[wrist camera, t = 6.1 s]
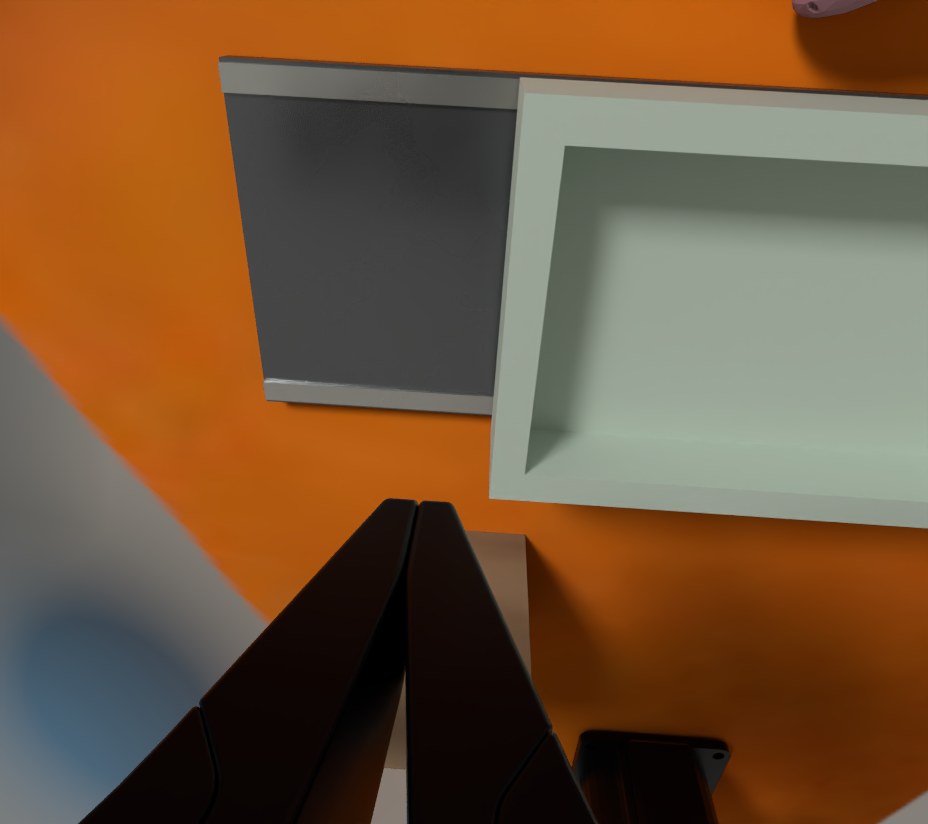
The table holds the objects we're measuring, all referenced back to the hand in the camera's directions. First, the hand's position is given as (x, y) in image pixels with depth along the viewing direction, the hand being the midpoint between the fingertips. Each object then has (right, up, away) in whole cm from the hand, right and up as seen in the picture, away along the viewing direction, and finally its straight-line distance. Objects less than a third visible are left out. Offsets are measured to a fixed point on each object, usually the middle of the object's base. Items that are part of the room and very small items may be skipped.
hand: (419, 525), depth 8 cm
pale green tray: (+8, +5, +9) cm, 13 cm away
